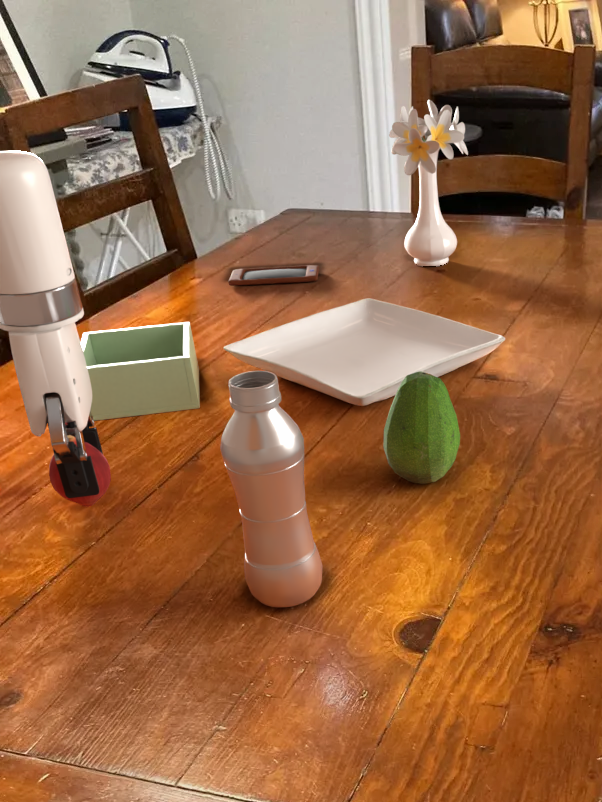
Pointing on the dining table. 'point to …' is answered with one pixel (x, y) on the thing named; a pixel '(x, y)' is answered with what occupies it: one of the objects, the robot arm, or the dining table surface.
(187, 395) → the veg bin
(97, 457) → the onion
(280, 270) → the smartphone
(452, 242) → the flower vase
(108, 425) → the dining table surface
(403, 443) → the avocado
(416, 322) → the square plate
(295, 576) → the plastic bottle
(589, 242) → the dining table surface
